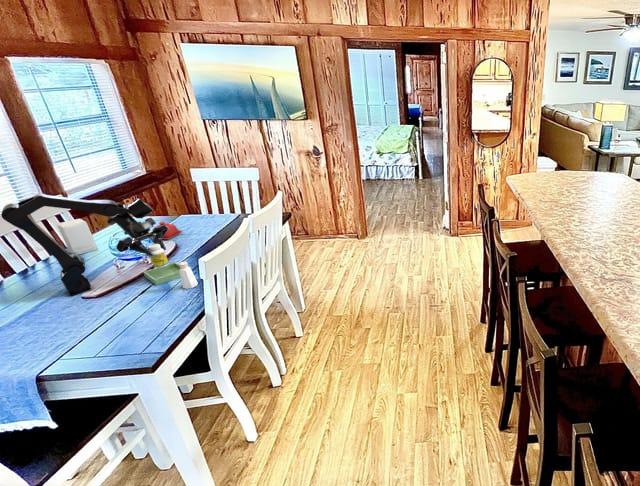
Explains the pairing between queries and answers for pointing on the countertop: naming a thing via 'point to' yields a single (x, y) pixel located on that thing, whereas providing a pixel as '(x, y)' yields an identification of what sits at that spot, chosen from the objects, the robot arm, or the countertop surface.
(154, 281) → the green tray
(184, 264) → the pepper shaker
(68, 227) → the rectangular carton
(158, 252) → the supplement bottle
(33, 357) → the countertop surface
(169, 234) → the butter dish
